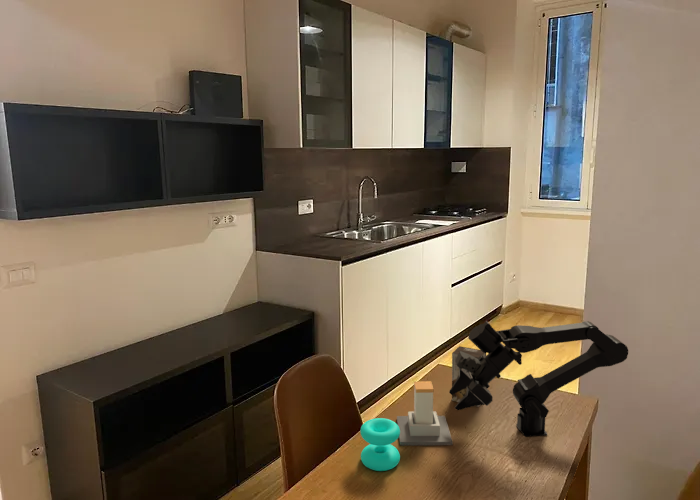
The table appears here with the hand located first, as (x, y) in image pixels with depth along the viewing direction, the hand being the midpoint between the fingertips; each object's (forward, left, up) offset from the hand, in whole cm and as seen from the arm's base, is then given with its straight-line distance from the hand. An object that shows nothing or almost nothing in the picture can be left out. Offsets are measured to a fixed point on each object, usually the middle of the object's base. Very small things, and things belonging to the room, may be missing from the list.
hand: (452, 401), depth 151 cm
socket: (+8, -1, -9) cm, 12 cm away
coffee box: (-10, -18, -9) cm, 23 cm away
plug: (+8, -1, -8) cm, 12 cm away
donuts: (+22, +12, -9) cm, 27 cm away
